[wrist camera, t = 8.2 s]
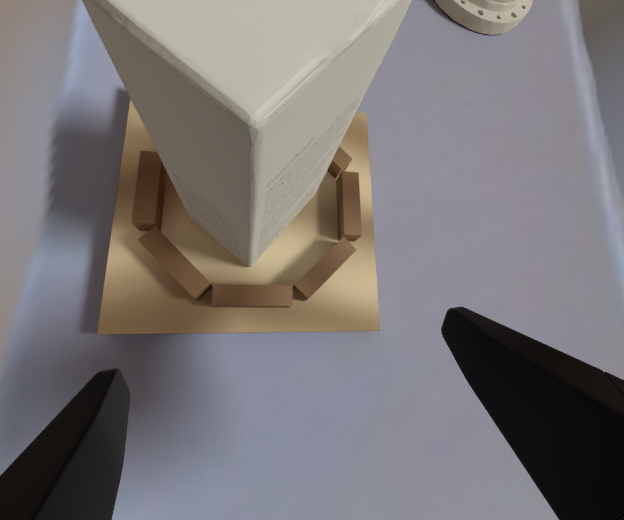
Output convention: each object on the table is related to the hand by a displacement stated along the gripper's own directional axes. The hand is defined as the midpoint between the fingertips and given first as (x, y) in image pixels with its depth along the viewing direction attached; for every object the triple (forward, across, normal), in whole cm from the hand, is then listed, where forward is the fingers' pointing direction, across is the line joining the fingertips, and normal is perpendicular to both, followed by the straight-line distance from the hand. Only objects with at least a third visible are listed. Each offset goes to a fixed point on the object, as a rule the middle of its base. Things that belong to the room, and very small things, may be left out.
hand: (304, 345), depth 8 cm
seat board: (+12, 0, +1) cm, 12 cm away
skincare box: (+11, 0, 0) cm, 11 cm away
